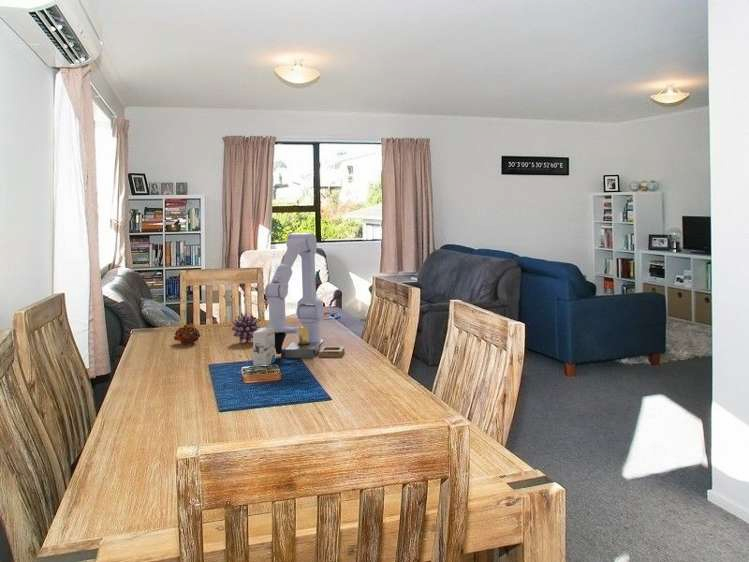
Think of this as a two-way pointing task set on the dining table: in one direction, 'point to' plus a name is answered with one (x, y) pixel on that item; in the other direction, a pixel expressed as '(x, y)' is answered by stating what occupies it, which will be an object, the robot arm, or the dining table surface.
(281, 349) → the drift key
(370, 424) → the dining table surface
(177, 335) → the brown knobbly lump
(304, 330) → the yellow rectangular block
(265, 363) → the ink box
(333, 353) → the rack
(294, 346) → the socket block
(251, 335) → the purple spiky ball
